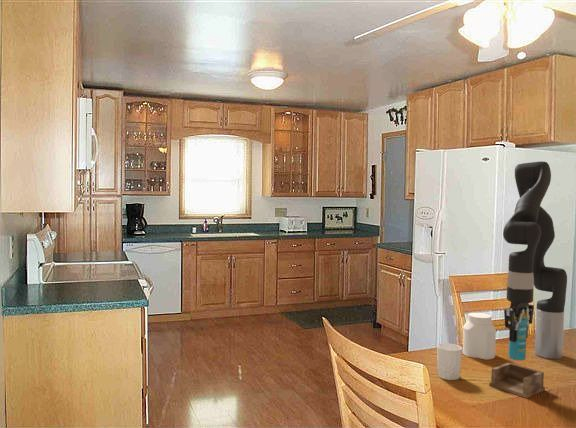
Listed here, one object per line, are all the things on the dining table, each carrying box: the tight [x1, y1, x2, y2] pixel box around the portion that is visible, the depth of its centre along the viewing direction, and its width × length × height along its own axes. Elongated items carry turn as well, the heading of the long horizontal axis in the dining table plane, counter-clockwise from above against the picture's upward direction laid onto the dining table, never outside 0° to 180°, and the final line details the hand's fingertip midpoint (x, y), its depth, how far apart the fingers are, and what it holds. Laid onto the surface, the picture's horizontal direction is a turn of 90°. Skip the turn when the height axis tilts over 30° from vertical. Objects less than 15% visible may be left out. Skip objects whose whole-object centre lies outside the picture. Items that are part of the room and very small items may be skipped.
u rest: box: [489, 362, 546, 399], centre depth 160 cm, size 11×12×6 cm
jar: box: [462, 312, 497, 360], centre depth 192 cm, size 12×10×15 cm
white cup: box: [436, 342, 463, 381], centre depth 169 cm, size 8×8×10 cm
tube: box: [508, 306, 528, 362], centre depth 159 cm, size 7×5×19 cm, turn 123°
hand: (518, 339), depth 159 cm, fingers closed on tube, 5 cm apart
